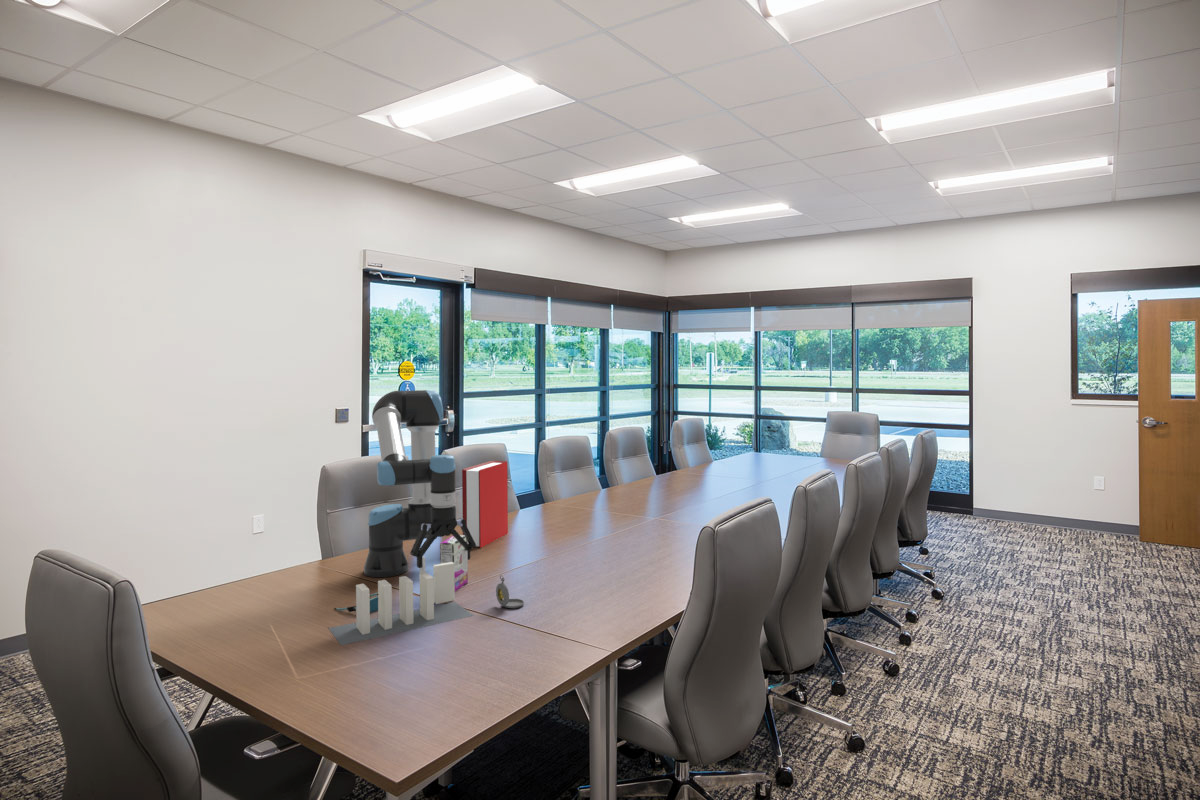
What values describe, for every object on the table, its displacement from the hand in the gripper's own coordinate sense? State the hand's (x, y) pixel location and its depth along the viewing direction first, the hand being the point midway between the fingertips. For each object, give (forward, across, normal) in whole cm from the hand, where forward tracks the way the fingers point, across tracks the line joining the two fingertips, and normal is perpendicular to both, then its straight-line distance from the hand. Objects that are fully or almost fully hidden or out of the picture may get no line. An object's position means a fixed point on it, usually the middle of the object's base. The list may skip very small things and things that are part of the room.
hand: (444, 574), depth 204 cm
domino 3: (+9, -15, -9) cm, 19 cm away
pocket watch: (+9, +15, -14) cm, 23 cm away
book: (+8, +44, +64) cm, 78 cm away
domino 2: (+9, -21, -9) cm, 24 cm away
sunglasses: (+9, -21, +11) cm, 26 cm away
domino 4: (+9, -9, -9) cm, 15 cm away
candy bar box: (+9, +8, +12) cm, 17 cm away
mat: (+9, -16, -9) cm, 20 cm away
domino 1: (+9, -27, -9) cm, 30 cm away
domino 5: (+9, 0, 0) cm, 9 cm away
